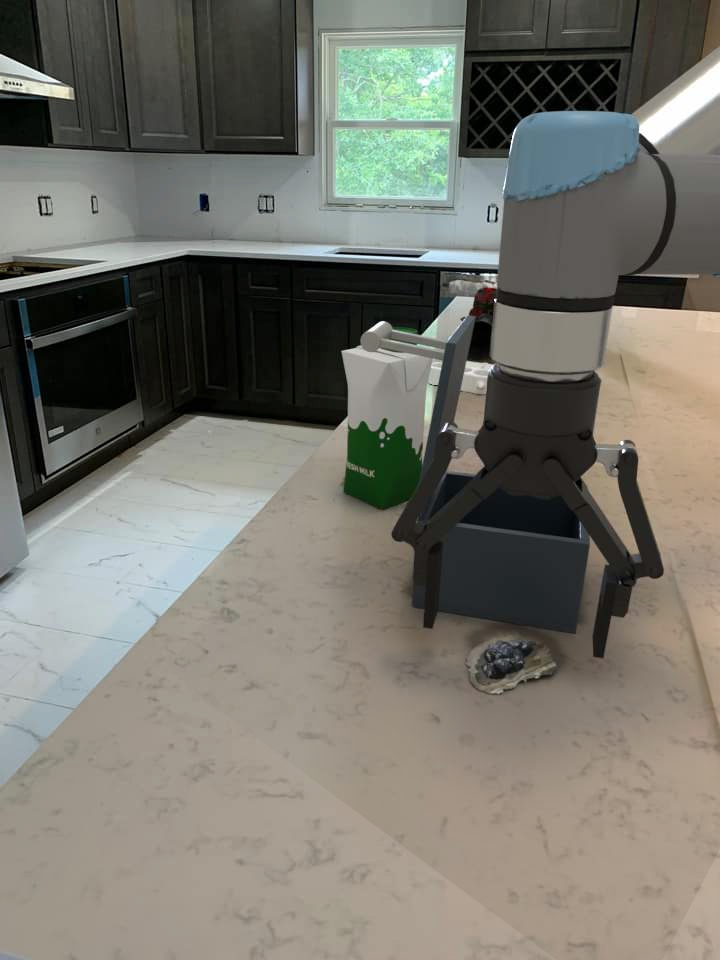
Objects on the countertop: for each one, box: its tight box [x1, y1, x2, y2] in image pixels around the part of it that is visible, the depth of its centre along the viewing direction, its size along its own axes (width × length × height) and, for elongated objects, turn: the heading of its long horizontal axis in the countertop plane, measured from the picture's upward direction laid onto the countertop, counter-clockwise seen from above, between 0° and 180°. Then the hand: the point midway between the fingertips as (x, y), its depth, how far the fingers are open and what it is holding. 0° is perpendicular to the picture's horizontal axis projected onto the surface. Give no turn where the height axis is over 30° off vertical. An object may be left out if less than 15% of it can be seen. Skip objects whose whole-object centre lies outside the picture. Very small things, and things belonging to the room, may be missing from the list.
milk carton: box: [341, 326, 434, 510], centre depth 87 cm, size 9×9×20 cm
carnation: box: [459, 286, 497, 363], centre depth 168 cm, size 16×18×35 cm
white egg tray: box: [427, 360, 494, 396], centre depth 138 cm, size 3×18×15 cm
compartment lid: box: [360, 314, 476, 517], centre depth 67 cm, size 16×13×9 cm
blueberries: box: [464, 632, 558, 695], centre depth 59 cm, size 7×8×2 cm
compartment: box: [411, 470, 591, 634], centre depth 69 cm, size 15×13×9 cm
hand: (511, 633), depth 58 cm, fingers open, 12 cm apart
